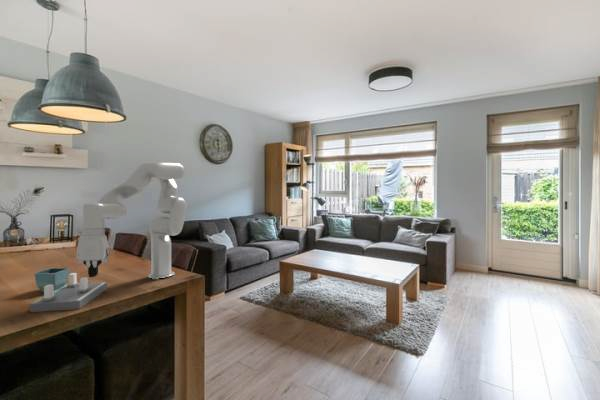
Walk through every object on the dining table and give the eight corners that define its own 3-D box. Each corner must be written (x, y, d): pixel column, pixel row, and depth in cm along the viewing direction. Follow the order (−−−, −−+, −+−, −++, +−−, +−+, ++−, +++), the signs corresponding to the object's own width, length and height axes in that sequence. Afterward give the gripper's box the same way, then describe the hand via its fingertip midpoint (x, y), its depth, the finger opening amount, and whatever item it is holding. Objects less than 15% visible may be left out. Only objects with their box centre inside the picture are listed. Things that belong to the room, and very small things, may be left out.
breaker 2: (71, 284, 126) (71, 272, 126) (79, 284, 126) (78, 272, 126) (66, 287, 122) (66, 275, 122) (74, 286, 123) (74, 274, 123)
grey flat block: (67, 290, 127) (67, 283, 127) (107, 288, 130) (107, 281, 130) (30, 312, 105) (30, 303, 104) (79, 308, 108) (79, 300, 108)
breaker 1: (47, 297, 110) (47, 284, 110) (56, 297, 111) (56, 283, 111) (41, 301, 107) (41, 287, 106) (50, 300, 107) (50, 286, 107)
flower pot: (70, 286, 133) (70, 267, 132) (54, 293, 124) (54, 273, 124) (51, 287, 132) (50, 267, 132) (33, 293, 123) (33, 273, 123)
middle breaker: (82, 289, 120) (82, 277, 120) (90, 288, 120) (90, 276, 120) (77, 292, 116) (77, 279, 116) (85, 291, 117) (85, 279, 117)
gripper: (67, 233, 113) (67, 279, 113) (109, 233, 116) (108, 278, 116) (78, 231, 120) (77, 274, 120) (117, 231, 124) (116, 273, 124)
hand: (92, 276), depth 118 cm, fingers closed
